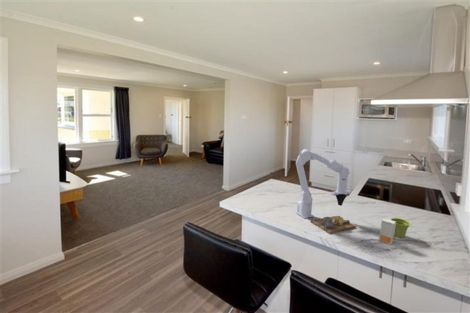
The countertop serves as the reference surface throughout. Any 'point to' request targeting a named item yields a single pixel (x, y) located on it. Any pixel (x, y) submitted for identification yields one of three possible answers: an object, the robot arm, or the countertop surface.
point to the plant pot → (400, 227)
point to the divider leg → (338, 220)
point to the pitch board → (332, 229)
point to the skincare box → (387, 231)
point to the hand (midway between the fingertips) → (339, 205)
